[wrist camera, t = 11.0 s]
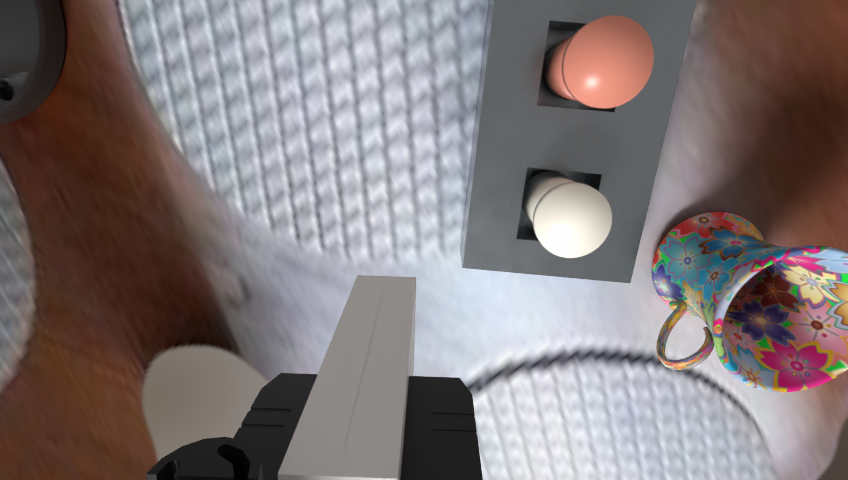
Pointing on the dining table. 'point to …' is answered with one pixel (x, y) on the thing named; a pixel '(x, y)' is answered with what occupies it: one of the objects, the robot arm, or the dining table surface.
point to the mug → (755, 302)
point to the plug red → (601, 63)
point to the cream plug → (566, 214)
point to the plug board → (564, 135)
